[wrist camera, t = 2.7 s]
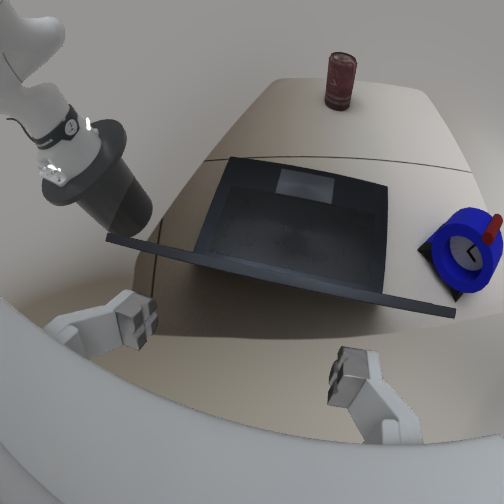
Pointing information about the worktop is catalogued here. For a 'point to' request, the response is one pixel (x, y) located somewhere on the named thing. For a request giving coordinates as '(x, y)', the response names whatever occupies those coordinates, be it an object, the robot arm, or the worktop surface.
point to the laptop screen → (284, 278)
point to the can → (340, 80)
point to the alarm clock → (466, 250)
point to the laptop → (299, 223)
